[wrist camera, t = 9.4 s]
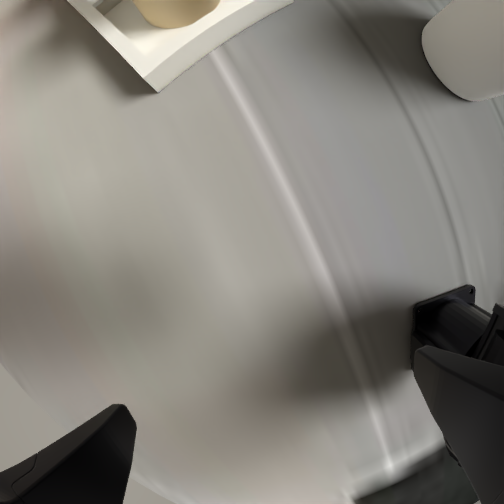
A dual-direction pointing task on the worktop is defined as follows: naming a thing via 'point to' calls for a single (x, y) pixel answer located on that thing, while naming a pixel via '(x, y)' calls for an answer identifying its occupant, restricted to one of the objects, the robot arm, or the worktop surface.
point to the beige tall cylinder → (174, 11)
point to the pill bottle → (468, 48)
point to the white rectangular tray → (170, 34)
